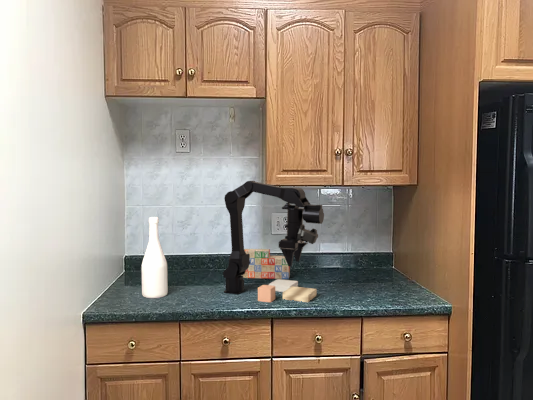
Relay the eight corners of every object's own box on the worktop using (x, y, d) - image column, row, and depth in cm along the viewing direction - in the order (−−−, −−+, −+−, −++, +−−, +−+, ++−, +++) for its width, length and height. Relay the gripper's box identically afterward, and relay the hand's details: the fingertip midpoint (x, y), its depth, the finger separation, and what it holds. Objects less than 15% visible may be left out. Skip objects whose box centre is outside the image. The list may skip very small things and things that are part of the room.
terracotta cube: (257, 301, 167) (257, 287, 167) (262, 297, 172) (262, 284, 171) (270, 302, 165) (270, 289, 165) (275, 299, 170) (275, 285, 169)
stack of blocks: (289, 276, 207) (290, 249, 206) (288, 279, 201) (288, 251, 200) (243, 274, 210) (243, 248, 209) (240, 277, 204) (240, 250, 203)
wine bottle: (153, 290, 181) (152, 215, 179) (172, 293, 176) (171, 216, 175) (136, 296, 172) (135, 217, 171) (156, 300, 168) (154, 219, 166)
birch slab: (282, 300, 169) (282, 292, 169) (291, 293, 178) (291, 286, 178) (308, 303, 165) (308, 295, 165) (316, 296, 174) (316, 288, 174)
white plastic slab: (268, 291, 182) (268, 283, 182) (277, 286, 190) (277, 279, 190) (289, 293, 178) (290, 286, 178) (297, 288, 187) (297, 281, 186)
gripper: (309, 226, 156) (308, 271, 157) (322, 220, 173) (321, 261, 174) (278, 224, 160) (277, 268, 161) (294, 218, 177) (293, 258, 178)
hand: (293, 263), depth 168 cm, fingers open, 9 cm apart
